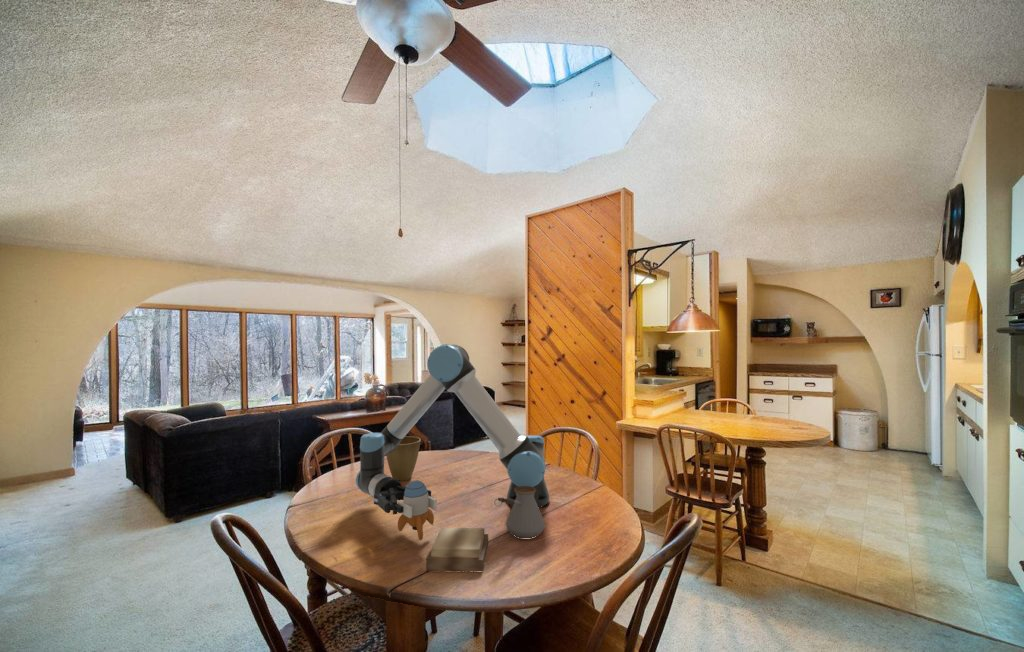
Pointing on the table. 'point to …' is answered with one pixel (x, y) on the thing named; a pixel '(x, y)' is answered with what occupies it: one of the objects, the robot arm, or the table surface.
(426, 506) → the toy rocket
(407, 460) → the plant pot
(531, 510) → the coffee pot
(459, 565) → the pad
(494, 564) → the table surface
